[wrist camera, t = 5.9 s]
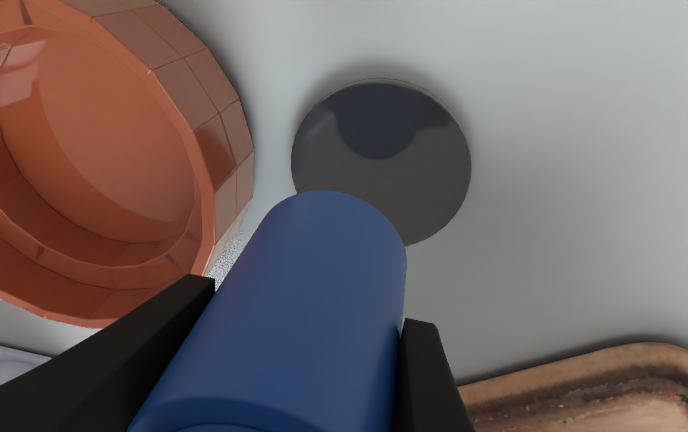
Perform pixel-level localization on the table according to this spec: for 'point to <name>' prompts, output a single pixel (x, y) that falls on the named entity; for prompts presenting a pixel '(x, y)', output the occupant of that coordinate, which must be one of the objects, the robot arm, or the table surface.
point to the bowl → (112, 157)
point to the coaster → (386, 153)
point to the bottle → (294, 329)
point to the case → (588, 393)
